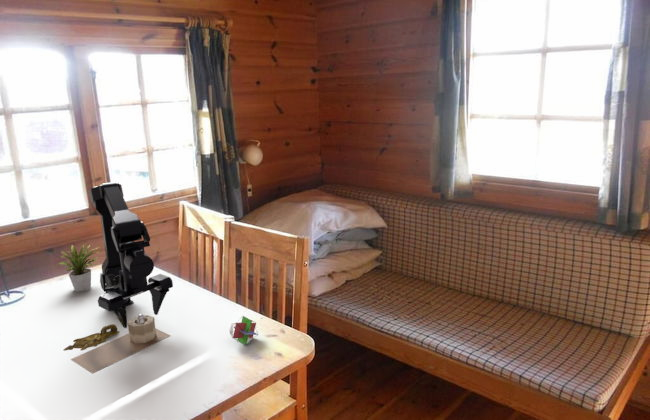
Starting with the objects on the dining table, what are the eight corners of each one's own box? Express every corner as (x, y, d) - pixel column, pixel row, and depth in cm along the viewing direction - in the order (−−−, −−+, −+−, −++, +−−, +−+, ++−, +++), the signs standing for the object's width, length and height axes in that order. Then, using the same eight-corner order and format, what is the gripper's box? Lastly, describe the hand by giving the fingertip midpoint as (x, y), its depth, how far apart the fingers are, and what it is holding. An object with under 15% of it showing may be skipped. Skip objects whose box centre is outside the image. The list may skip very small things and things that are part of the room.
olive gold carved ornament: (68, 366, 126) (127, 344, 136) (66, 351, 125) (125, 329, 134) (57, 350, 133) (113, 329, 142) (54, 334, 131) (111, 315, 141)
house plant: (92, 298, 164) (85, 251, 160) (51, 299, 164) (42, 252, 160) (111, 281, 178) (104, 238, 174) (73, 282, 178) (65, 239, 174)
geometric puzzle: (253, 322, 138) (237, 307, 133) (268, 330, 134) (252, 315, 129) (237, 344, 136) (220, 330, 131) (252, 353, 131) (235, 338, 126)
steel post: (144, 335, 136) (141, 312, 134) (148, 337, 135) (144, 314, 133) (138, 337, 134) (135, 314, 133) (142, 339, 133) (138, 316, 132)
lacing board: (148, 328, 142) (148, 324, 142) (171, 339, 135) (171, 335, 135) (71, 363, 125) (70, 359, 125) (93, 377, 119) (92, 373, 118)
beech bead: (146, 329, 139) (144, 313, 137) (160, 335, 135) (157, 319, 134) (126, 339, 134) (124, 322, 133) (139, 345, 130) (137, 328, 129)
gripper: (147, 250, 141) (154, 301, 145) (82, 271, 127) (92, 326, 131) (170, 258, 134) (177, 310, 138) (105, 280, 120) (114, 338, 124)
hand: (140, 320), depth 133 cm, fingers open, 9 cm apart
